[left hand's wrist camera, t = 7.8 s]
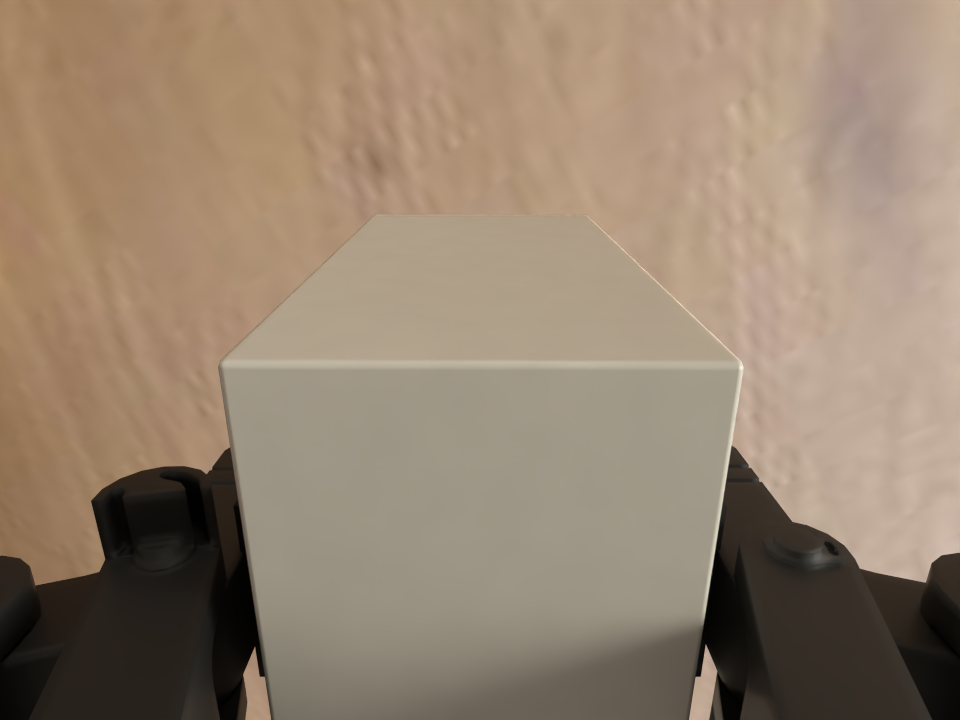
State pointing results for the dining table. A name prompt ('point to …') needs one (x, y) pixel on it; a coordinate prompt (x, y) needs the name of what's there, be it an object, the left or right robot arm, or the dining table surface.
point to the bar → (480, 477)
